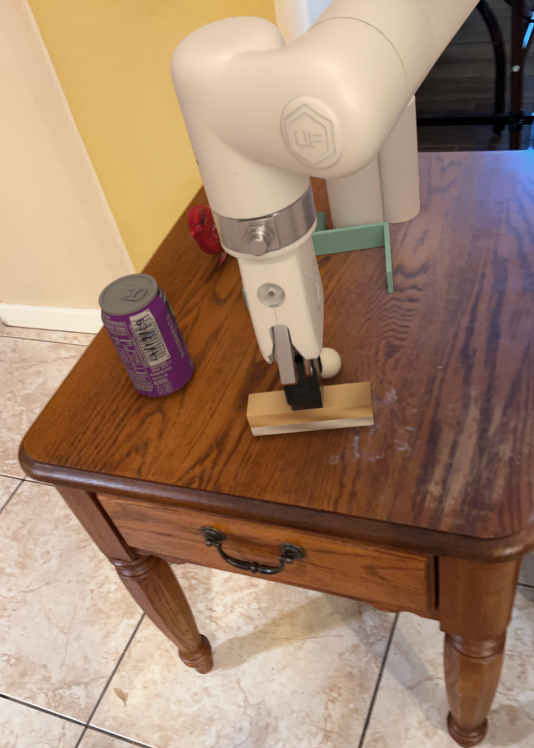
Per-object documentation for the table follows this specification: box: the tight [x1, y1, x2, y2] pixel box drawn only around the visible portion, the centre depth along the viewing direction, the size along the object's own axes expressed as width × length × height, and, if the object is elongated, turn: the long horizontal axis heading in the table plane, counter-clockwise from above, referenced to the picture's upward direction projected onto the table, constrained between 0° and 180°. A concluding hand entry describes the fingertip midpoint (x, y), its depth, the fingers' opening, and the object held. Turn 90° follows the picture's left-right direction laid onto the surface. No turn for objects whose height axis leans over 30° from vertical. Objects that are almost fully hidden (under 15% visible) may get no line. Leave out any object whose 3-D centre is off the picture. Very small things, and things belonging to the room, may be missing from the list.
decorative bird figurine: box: [187, 203, 228, 270], centre depth 89 cm, size 3×18×10 cm, turn 166°
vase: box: [325, 94, 421, 229], centre depth 83 cm, size 11×7×20 cm, turn 115°
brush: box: [245, 355, 375, 437], centre depth 66 cm, size 12×3×10 cm, turn 86°
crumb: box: [320, 347, 342, 380], centre depth 73 cm, size 3×3×3 cm
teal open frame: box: [241, 210, 395, 312], centre depth 85 cm, size 17×16×3 cm
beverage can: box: [97, 273, 195, 398], centre depth 75 cm, size 7×7×12 cm
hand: (305, 386), depth 66 cm, fingers closed on brush, 3 cm apart
